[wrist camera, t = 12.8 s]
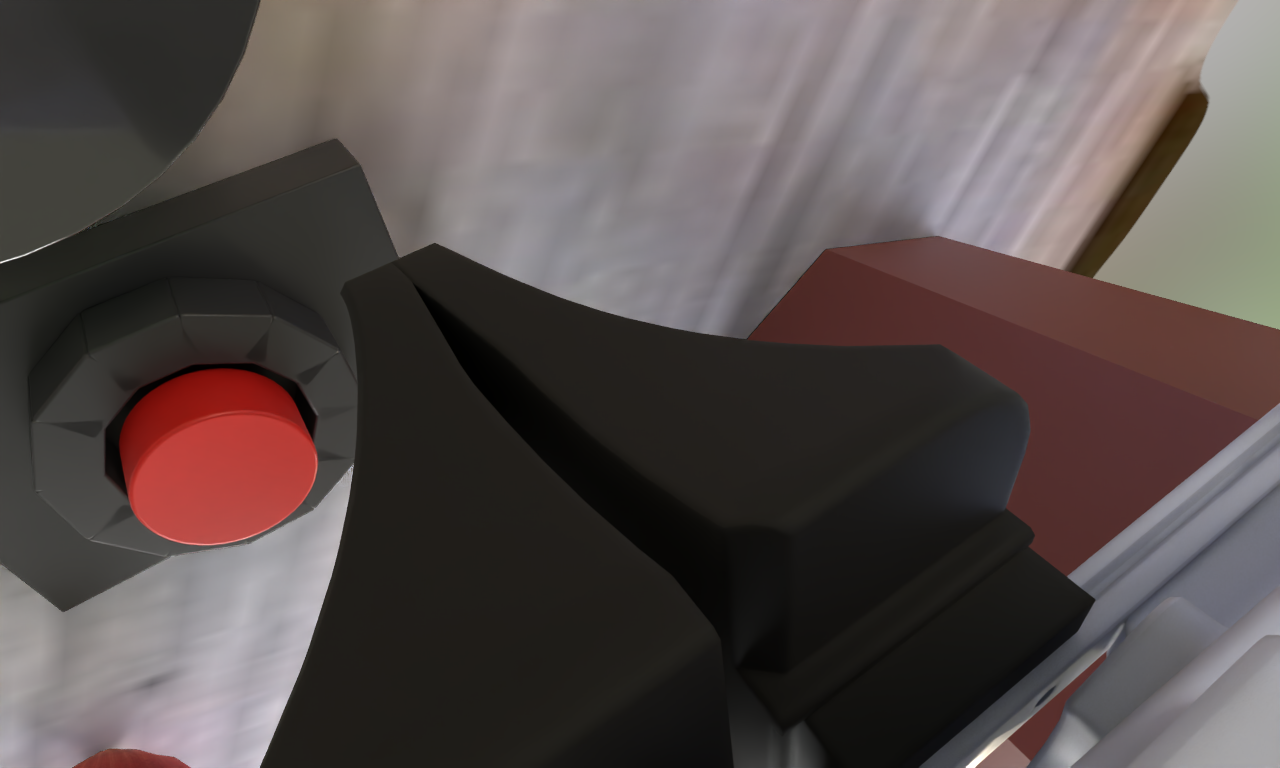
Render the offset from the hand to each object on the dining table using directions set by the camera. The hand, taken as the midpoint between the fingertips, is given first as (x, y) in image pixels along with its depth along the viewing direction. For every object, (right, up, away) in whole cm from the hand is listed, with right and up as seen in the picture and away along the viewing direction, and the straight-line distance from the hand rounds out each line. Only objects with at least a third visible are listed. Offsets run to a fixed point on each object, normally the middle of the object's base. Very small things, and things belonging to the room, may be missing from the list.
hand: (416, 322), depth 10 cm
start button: (-7, -2, +7) cm, 10 cm away
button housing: (-8, 0, +9) cm, 12 cm away
